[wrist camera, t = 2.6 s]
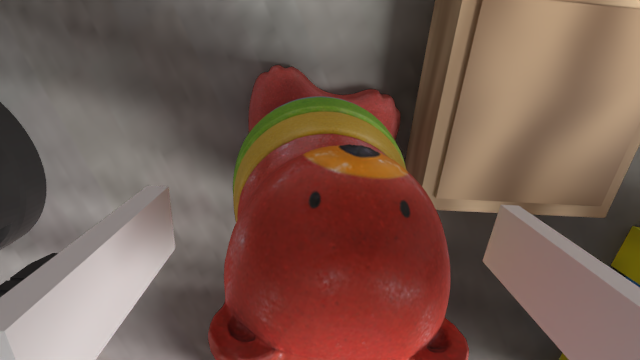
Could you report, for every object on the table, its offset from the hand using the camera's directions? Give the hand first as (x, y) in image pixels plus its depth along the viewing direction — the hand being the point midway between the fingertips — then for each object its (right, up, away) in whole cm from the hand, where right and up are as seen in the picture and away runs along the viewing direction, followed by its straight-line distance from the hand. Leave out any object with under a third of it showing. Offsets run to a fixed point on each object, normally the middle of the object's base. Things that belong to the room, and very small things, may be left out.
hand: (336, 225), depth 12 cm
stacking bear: (-1, +5, +11) cm, 12 cm away
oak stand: (+13, +7, +11) cm, 19 cm away
